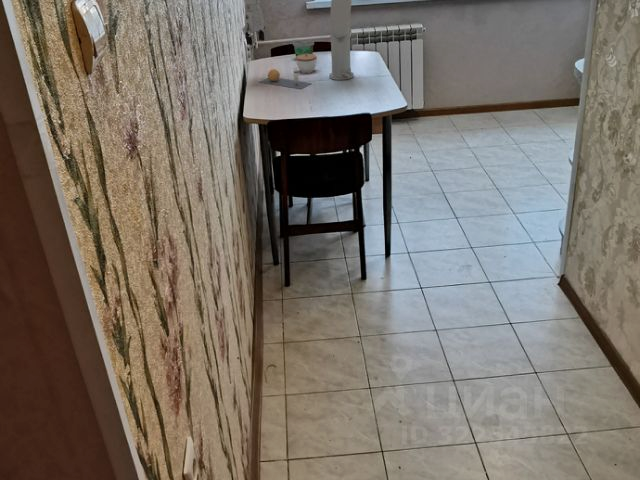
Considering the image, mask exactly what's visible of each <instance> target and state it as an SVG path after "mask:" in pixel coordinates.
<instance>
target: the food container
mask: <svg viewBox="0 0 640 480" xmlns="http://www.w3.org/2000/svg"><path fill="white" fill-rule="evenodd" d="M314 45H315V41H314V40H311V41H303V40H301V41H295V40H293V41H292V46H294V53H295V58H296V57H297V56H298V55H302V54H305V53H307V54H314V53H313V52H314Z"/></svg>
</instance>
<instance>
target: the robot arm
mask: <svg viewBox="0 0 640 480" xmlns="http://www.w3.org/2000/svg"><path fill="white" fill-rule="evenodd" d="M243 1H244V26H243V28H242V29H241V30H242V32H243V35H244V37H245V38H246V40H245V41H246V45H250V46H252V45H253V36H252V35H253V33H256V32H257V33H258V40H259V41H263V42H264V41H265V29H266V25H267V22H266V20H264V15H263V10H262V8H261V0H243ZM352 2H353V1H352V0H331V3H330V15H329V24H328V25H329V26H328V27H329V32H330V46H331V47H330V48H331V49H330V51H331V53H330V54H331V55H330V56H331V73H329V74H328V77H329V79H332V80H335V81H345V80H351V79H352V78H354V76H355V74H354V72H352V69H351V10H352V4H353V3H352Z"/></svg>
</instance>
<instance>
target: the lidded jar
mask: <svg viewBox="0 0 640 480" xmlns="http://www.w3.org/2000/svg"><path fill="white" fill-rule="evenodd" d="M317 57H318V56H317V55H316V54H314V53H313V54H307V53H305V54H302V55H298V56H297V57H296V56H295V59H296V65H297V68H298V70H299V71H300V72H301V73H306V74H308V73H312V72H313V71H314V70H315V69H316V67H317Z"/></svg>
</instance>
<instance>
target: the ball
mask: <svg viewBox="0 0 640 480" xmlns="http://www.w3.org/2000/svg"><path fill="white" fill-rule="evenodd" d="M280 76H281V75H280V72H279V70H277V69H274V68H272V69H270V70H268V73H267V78H269V79H270V80H271V81H277V80H278V79H279V78H281V77H280Z"/></svg>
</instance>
